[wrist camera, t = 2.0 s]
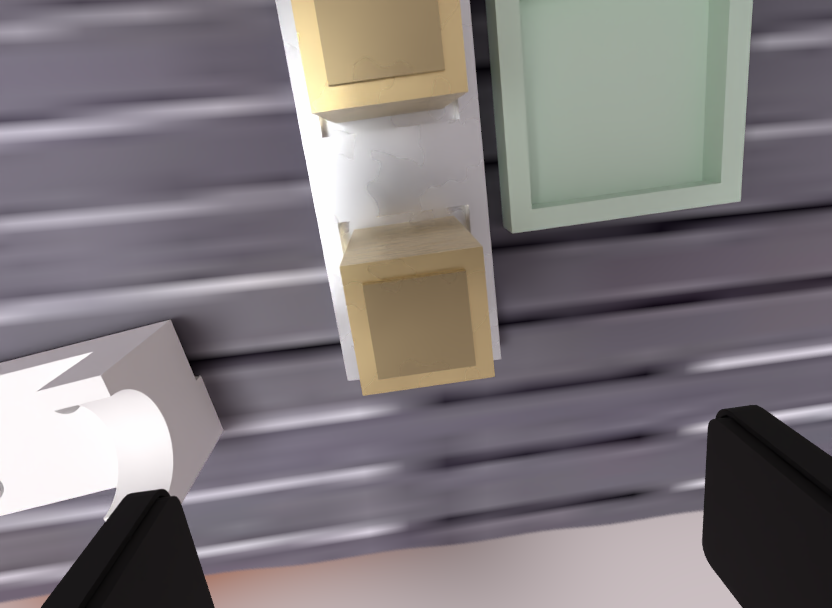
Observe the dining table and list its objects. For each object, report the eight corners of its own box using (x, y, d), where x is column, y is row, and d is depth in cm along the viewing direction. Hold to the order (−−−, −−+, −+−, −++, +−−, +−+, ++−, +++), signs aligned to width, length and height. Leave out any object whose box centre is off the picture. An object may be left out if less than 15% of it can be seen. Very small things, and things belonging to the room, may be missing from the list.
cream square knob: (315, 2, 22) (274, -77, 14) (429, -13, 22) (451, -101, 14) (335, 123, 24) (309, 112, 16) (442, 108, 24) (469, 90, 16)
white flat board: (270, -56, 22) (261, -72, 20) (455, -80, 22) (460, -98, 20) (350, 367, 28) (348, 380, 26) (494, 346, 28) (501, 359, 26)
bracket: (177, 313, 27) (100, 375, 20) (225, 428, 29) (171, 521, 22) (-57, 373, 27) (-218, 455, 20) (7, 482, 29) (-118, 592, 22)
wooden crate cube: (353, 229, 25) (338, 268, 17) (453, 215, 25) (484, 248, 17) (369, 324, 27) (362, 399, 19) (464, 310, 27) (496, 380, 19)
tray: (483, -18, 23) (492, -33, 21) (726, -51, 23) (757, -68, 21) (503, 227, 26) (512, 233, 24) (714, 197, 26) (740, 201, 24)
